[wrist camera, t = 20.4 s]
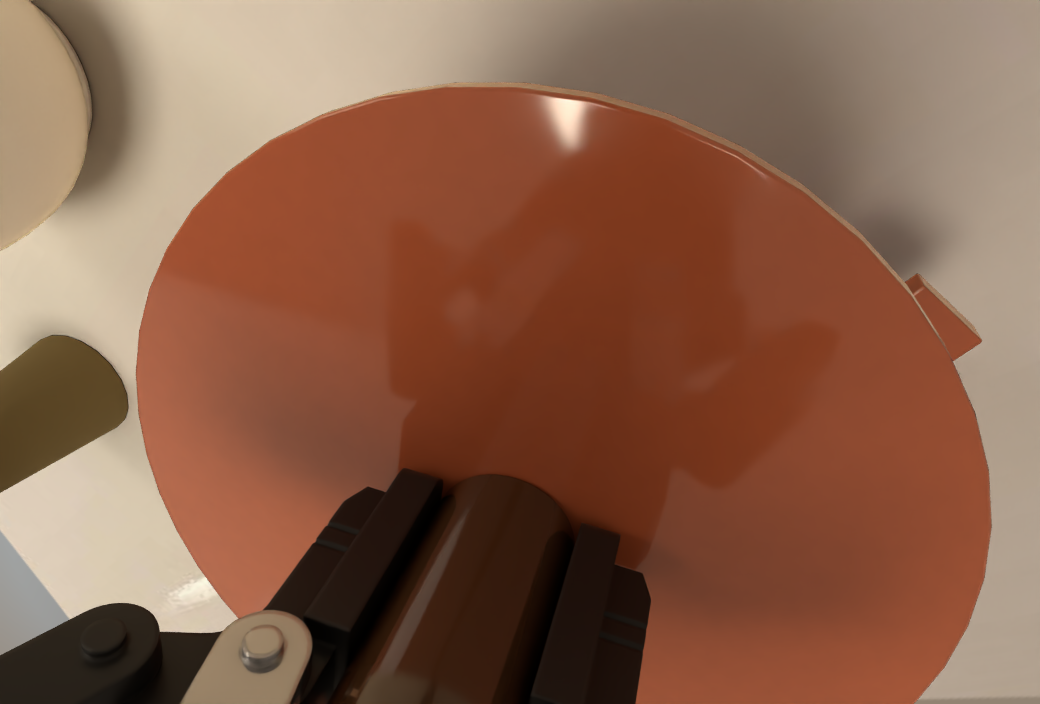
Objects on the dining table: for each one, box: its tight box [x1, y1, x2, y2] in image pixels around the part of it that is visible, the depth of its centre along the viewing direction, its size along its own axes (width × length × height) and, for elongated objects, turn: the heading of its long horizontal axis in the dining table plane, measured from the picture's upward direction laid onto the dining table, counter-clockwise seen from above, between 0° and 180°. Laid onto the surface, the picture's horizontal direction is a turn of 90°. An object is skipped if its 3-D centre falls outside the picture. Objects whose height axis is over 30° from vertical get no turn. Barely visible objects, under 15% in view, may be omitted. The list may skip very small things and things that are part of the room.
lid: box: [136, 83, 992, 704], centre depth 12 cm, size 15×15×6 cm
